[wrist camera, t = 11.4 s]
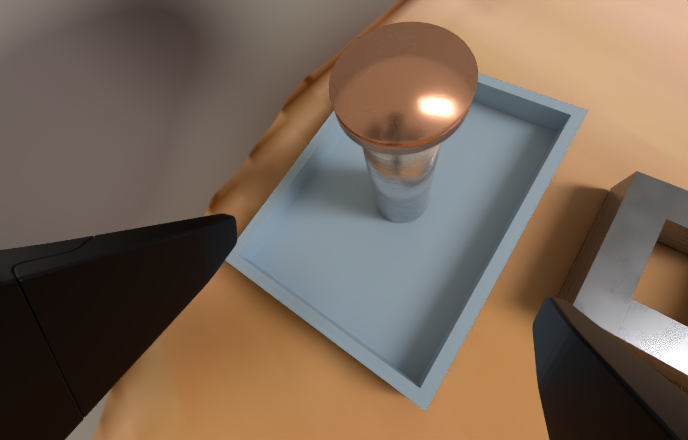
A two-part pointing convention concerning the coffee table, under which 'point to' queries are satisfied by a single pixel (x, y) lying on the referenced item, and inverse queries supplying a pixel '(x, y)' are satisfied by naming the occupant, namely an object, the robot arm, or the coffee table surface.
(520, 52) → the coffee table surface
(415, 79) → the pin
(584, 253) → the block
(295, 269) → the tray
